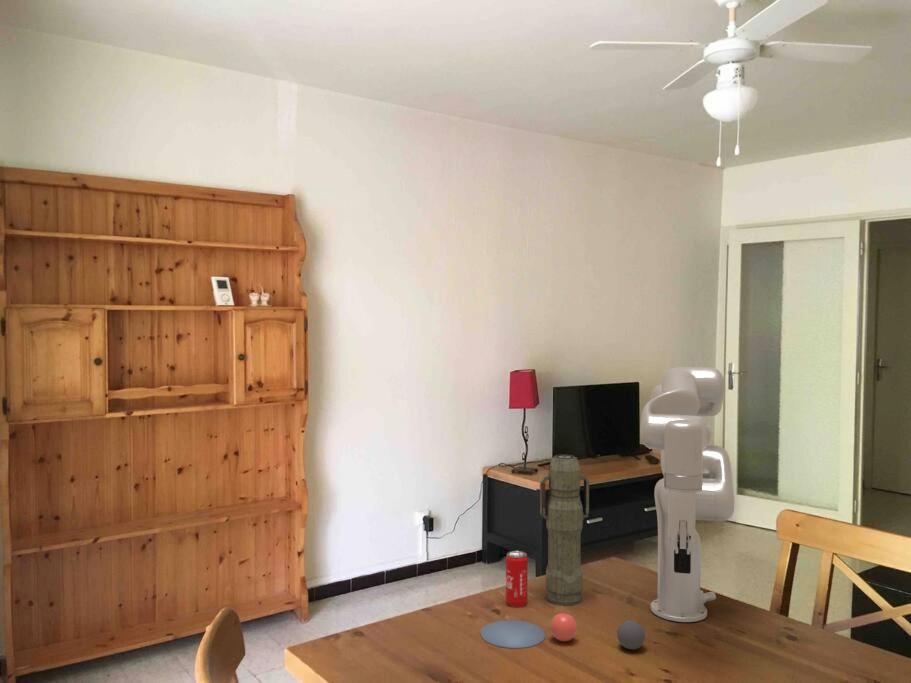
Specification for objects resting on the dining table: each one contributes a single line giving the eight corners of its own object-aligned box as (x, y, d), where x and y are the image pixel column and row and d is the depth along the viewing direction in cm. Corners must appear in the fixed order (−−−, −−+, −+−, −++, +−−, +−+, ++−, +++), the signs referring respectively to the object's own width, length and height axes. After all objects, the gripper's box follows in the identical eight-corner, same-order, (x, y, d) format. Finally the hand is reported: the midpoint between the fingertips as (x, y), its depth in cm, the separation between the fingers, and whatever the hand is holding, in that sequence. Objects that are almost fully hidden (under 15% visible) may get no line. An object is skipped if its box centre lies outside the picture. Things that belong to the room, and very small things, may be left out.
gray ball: (633, 640, 156) (633, 614, 156) (650, 651, 151) (650, 624, 151) (611, 645, 154) (611, 618, 154) (628, 656, 149) (628, 629, 149)
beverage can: (526, 608, 174) (526, 558, 173) (504, 606, 175) (504, 556, 174) (528, 600, 179) (528, 551, 178) (507, 598, 180) (507, 550, 179)
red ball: (567, 632, 160) (567, 607, 160) (582, 643, 155) (582, 616, 155) (545, 637, 158) (545, 611, 158) (559, 647, 153) (559, 621, 152)
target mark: (525, 617, 169) (525, 616, 169) (557, 641, 156) (557, 640, 156) (469, 627, 163) (469, 626, 163) (498, 653, 150) (498, 652, 150)
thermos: (535, 593, 183) (535, 454, 182) (579, 590, 185) (580, 452, 184) (546, 607, 174) (547, 460, 173) (593, 603, 177) (594, 458, 176)
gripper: (663, 473, 157) (663, 558, 157) (663, 488, 142) (662, 582, 143) (700, 475, 155) (699, 561, 155) (704, 491, 140) (703, 586, 141)
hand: (682, 571), depth 149 cm, fingers closed
